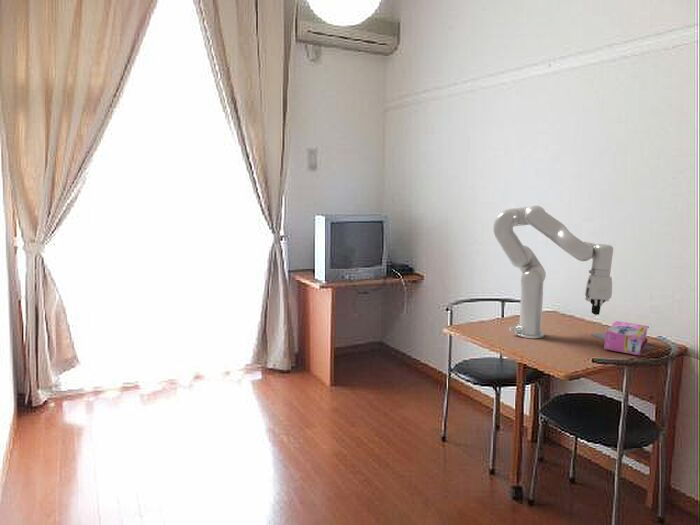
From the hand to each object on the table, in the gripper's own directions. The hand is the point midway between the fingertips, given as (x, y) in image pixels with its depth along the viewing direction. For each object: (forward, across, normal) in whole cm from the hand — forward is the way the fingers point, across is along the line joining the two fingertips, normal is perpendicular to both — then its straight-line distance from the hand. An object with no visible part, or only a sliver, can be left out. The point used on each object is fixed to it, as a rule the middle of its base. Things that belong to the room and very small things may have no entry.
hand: (595, 313), depth 240 cm
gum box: (+8, +5, -4) cm, 11 cm away
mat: (+12, +14, -1) cm, 19 cm away
